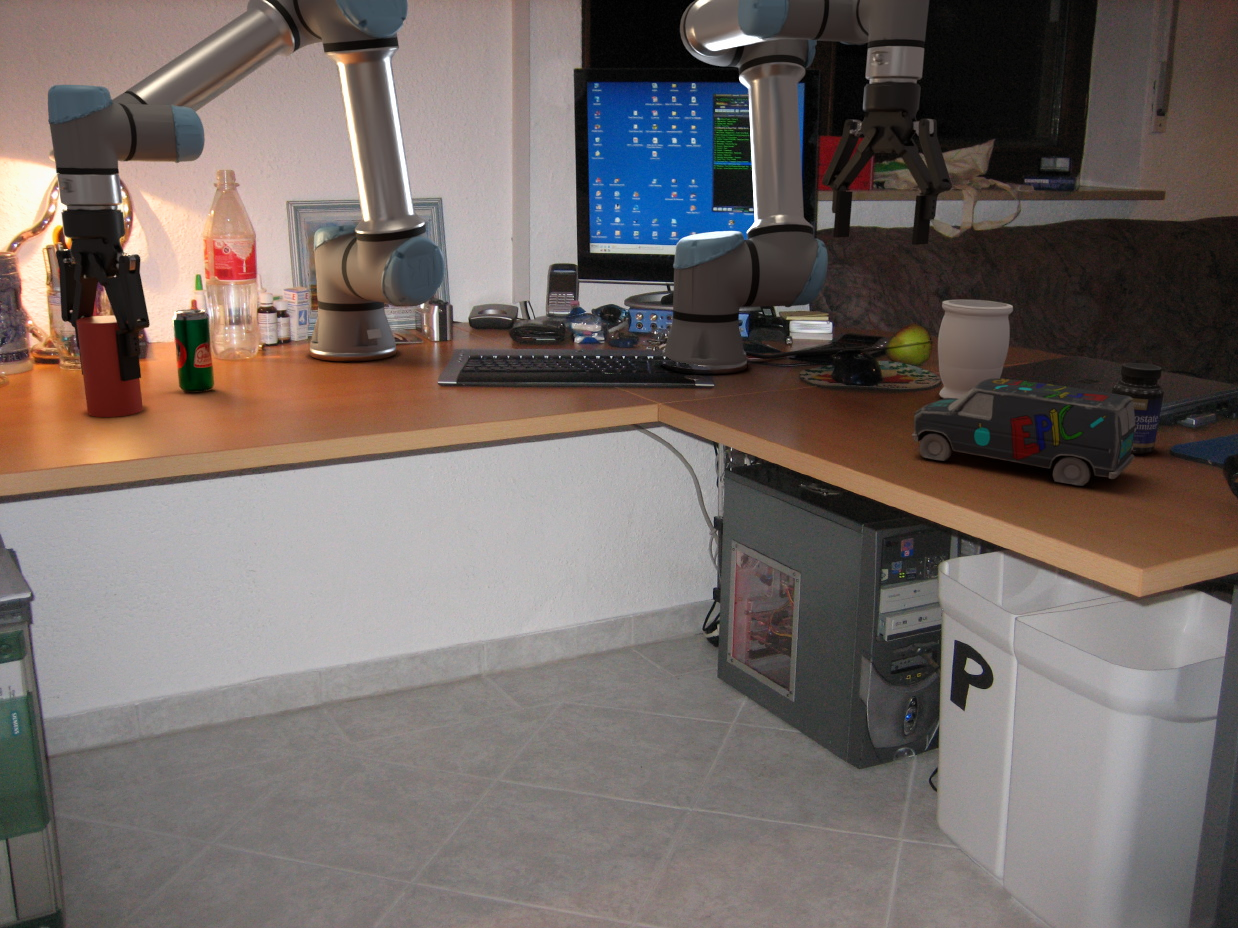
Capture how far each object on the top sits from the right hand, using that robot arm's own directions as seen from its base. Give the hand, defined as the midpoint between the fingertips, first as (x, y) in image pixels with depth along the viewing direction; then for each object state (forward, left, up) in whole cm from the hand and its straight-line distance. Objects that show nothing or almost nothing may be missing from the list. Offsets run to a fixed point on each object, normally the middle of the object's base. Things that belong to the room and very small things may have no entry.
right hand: (879, 241), depth 152 cm
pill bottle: (-11, +34, -25) cm, 44 cm away
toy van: (+8, +29, -25) cm, 39 cm away
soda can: (+74, -70, -25) cm, 105 cm away
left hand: (+88, -63, -20) cm, 110 cm away
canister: (+88, -63, -25) cm, 111 cm away
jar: (-20, +4, -25) cm, 32 cm away
